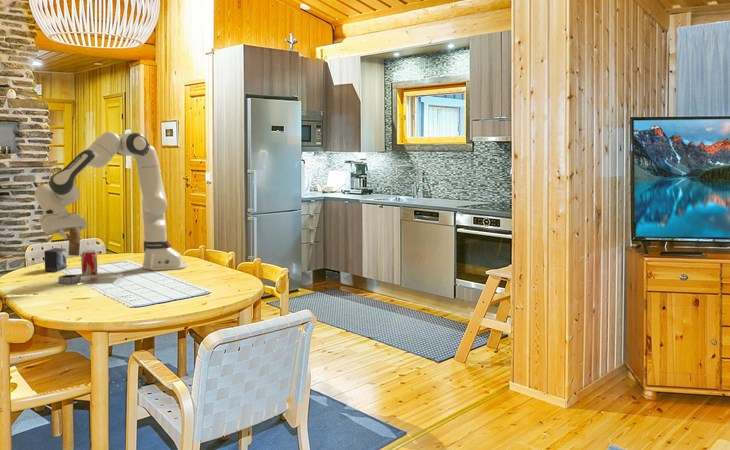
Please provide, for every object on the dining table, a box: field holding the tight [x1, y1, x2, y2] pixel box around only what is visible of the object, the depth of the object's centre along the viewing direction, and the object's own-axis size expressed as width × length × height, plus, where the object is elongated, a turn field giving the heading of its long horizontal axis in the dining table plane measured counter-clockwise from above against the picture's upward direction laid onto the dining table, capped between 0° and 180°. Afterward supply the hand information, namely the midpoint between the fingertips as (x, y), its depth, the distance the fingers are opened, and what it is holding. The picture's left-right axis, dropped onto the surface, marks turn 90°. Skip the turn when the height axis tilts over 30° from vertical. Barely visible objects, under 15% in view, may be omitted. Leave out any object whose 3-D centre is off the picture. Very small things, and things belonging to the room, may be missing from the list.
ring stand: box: [54, 274, 85, 287], centre depth 287 cm, size 12×12×4 cm
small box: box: [44, 247, 67, 272], centre depth 321 cm, size 11×6×10 cm, turn 179°
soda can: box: [80, 250, 98, 276], centre depth 307 cm, size 7×7×12 cm
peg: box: [68, 228, 82, 257], centre depth 284 cm, size 4×4×12 cm
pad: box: [84, 276, 118, 285], centre depth 292 cm, size 12×12×1 cm
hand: (73, 237), depth 285 cm, fingers closed on peg, 4 cm apart
